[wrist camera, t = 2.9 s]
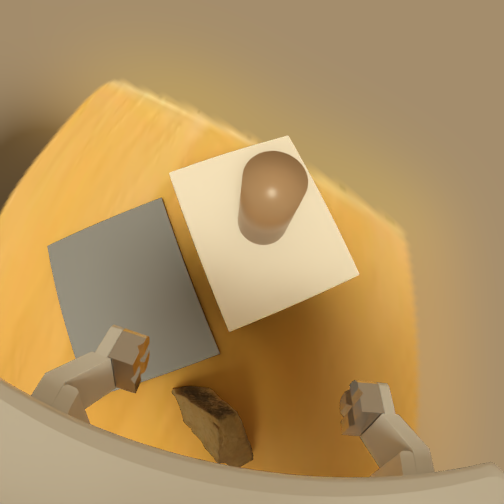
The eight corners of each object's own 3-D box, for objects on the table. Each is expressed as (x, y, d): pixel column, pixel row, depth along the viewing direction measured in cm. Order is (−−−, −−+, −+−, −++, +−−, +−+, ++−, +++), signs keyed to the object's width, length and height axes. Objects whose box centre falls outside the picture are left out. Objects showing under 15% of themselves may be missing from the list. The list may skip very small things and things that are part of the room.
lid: (348, 280, 30) (403, 250, 20) (229, 332, 28) (230, 328, 18) (284, 149, 34) (304, 82, 24) (172, 185, 32) (153, 121, 21)
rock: (278, 472, 28) (278, 390, 29) (231, 512, 20) (225, 418, 22) (200, 449, 33) (195, 376, 35) (148, 473, 26) (137, 390, 27)
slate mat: (220, 353, 33) (219, 353, 32) (92, 396, 30) (90, 397, 30) (162, 199, 37) (161, 197, 36) (49, 247, 34) (47, 246, 34)
